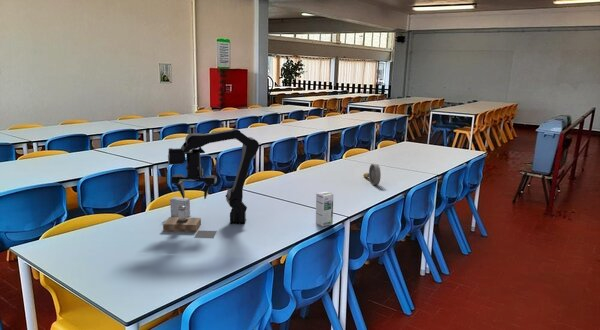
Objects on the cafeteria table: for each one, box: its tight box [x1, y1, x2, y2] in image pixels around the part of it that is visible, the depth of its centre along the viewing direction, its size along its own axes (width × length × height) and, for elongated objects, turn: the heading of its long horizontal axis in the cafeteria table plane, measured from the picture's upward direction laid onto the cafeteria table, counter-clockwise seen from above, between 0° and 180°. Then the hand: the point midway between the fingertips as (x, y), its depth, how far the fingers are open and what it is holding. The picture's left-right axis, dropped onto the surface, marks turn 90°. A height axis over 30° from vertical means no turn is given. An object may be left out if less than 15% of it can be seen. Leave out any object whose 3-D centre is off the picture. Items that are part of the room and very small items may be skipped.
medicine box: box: [169, 196, 191, 218], centre depth 205 cm, size 8×4×9 cm, turn 74°
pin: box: [177, 205, 186, 223], centre depth 189 cm, size 4×4×10 cm
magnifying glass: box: [362, 163, 382, 186], centre depth 275 cm, size 13×3×25 cm
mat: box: [193, 229, 218, 239], centre depth 184 cm, size 8×8×1 cm
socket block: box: [162, 216, 202, 233], centre depth 190 cm, size 14×9×4 cm, turn 90°
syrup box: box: [315, 191, 334, 227], centre depth 199 cm, size 6×6×14 cm
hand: (194, 198), depth 190 cm, fingers open, 9 cm apart
